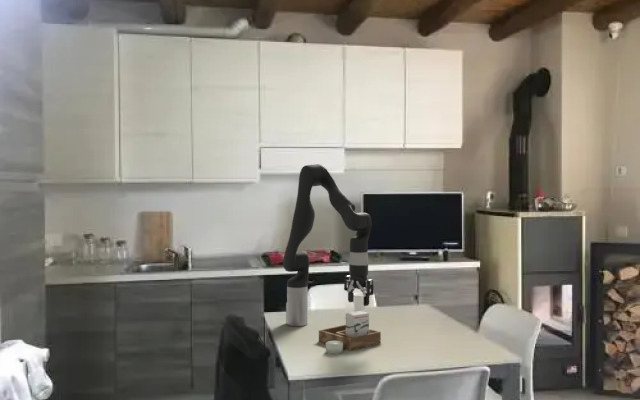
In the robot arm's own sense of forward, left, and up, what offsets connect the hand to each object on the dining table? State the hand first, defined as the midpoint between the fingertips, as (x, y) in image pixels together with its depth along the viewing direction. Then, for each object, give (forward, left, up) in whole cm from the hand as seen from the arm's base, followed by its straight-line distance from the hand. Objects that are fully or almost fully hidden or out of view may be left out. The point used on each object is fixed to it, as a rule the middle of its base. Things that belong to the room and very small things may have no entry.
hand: (358, 303), depth 228 cm
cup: (-37, +38, -16) cm, 56 cm away
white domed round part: (+3, -15, -16) cm, 22 cm away
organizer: (-3, -2, -16) cm, 16 cm away
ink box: (0, 0, -16) cm, 16 cm away
